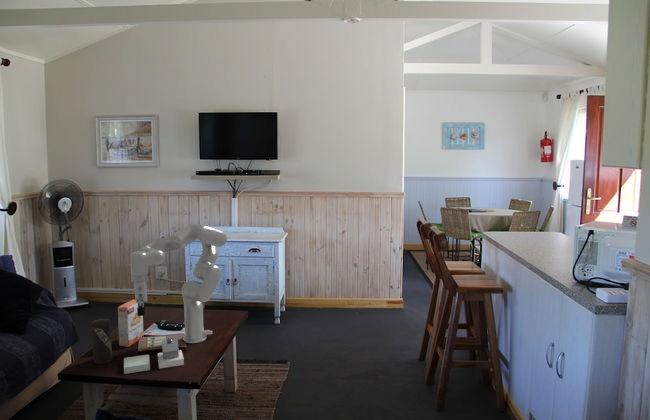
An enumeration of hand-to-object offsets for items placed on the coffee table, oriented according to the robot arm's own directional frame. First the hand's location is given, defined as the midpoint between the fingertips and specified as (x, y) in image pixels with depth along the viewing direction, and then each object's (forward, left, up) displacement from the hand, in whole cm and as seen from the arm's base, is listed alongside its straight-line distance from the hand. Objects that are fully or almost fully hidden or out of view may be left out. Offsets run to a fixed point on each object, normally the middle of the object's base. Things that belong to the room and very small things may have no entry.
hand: (141, 312), depth 239 cm
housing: (-12, +10, -20) cm, 25 cm away
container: (+18, -3, -23) cm, 30 cm away
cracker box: (+5, -23, -23) cm, 33 cm away
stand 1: (+3, +10, -23) cm, 25 cm away
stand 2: (-12, +10, -23) cm, 28 cm away
